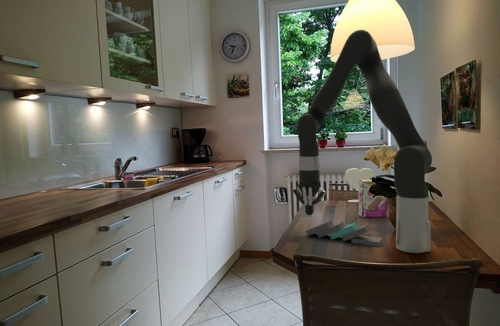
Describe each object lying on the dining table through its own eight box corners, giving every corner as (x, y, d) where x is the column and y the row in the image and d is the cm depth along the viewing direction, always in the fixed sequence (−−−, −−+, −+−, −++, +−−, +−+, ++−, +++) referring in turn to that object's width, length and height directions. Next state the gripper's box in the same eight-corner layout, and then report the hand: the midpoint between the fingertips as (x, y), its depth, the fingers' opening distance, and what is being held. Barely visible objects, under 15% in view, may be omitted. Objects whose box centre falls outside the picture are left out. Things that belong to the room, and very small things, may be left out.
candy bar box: (362, 218, 158) (362, 181, 157) (358, 215, 163) (358, 179, 162) (387, 217, 159) (387, 180, 157) (382, 214, 164) (383, 179, 162)
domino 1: (305, 230, 134) (326, 222, 129) (311, 227, 138) (331, 219, 133) (308, 236, 133) (328, 228, 128) (313, 232, 137) (333, 224, 133)
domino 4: (340, 236, 126) (364, 226, 122) (345, 232, 130) (368, 223, 126) (343, 241, 126) (367, 232, 121) (347, 237, 130) (370, 229, 126)
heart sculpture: (374, 200, 198) (374, 167, 196) (375, 202, 193) (375, 168, 191) (345, 200, 201) (345, 167, 199) (345, 201, 196) (345, 168, 194)
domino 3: (329, 234, 128) (351, 225, 124) (334, 231, 133) (355, 222, 128) (331, 239, 128) (354, 230, 124) (336, 236, 132) (358, 227, 128)
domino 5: (351, 238, 124) (378, 242, 119) (355, 234, 128) (382, 238, 123) (351, 244, 124) (378, 248, 119) (355, 240, 129) (382, 244, 124)
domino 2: (316, 232, 131) (338, 224, 126) (321, 229, 135) (342, 221, 131) (318, 237, 131) (340, 229, 126) (324, 234, 135) (345, 226, 130)
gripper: (288, 168, 134) (289, 214, 135) (322, 170, 127) (322, 218, 128) (297, 167, 140) (297, 211, 142) (330, 168, 133) (330, 214, 134)
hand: (309, 214), depth 135 cm, fingers closed
